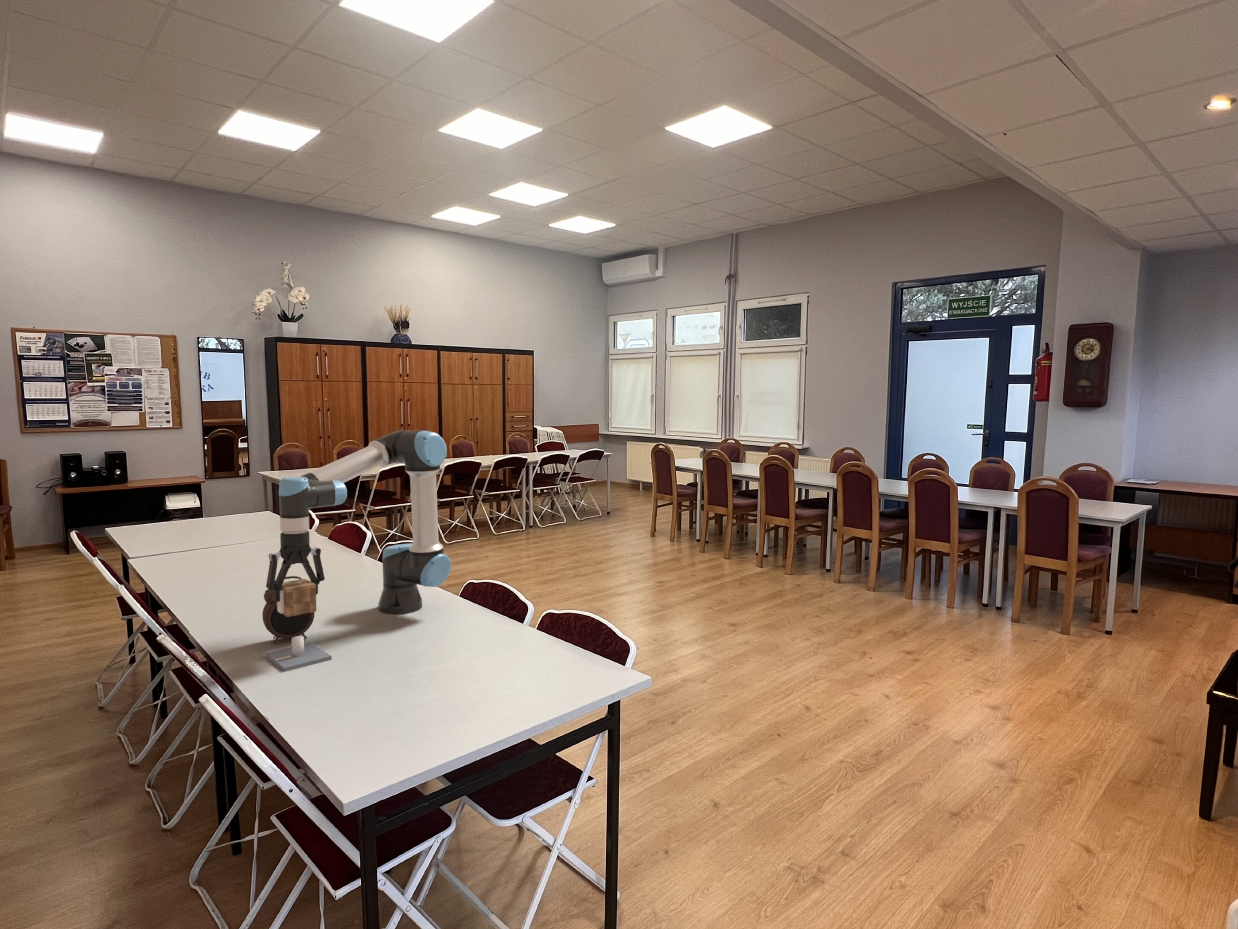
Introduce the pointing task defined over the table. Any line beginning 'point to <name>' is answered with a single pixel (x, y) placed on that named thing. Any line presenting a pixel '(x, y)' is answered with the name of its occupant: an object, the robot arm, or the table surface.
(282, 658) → the plate
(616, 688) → the table surface
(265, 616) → the alarm clock
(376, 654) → the table surface
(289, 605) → the tan drawer box
